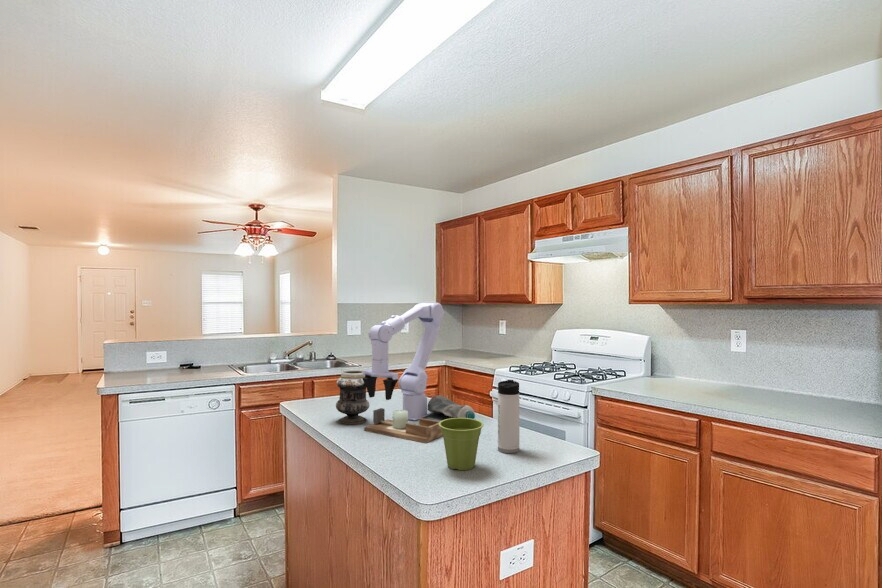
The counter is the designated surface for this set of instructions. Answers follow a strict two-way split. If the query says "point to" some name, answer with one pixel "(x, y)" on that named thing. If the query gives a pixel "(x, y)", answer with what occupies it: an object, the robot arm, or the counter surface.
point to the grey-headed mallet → (398, 418)
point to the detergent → (450, 408)
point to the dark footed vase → (352, 396)
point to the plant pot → (461, 441)
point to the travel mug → (508, 416)
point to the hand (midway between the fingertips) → (380, 398)
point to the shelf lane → (409, 430)
